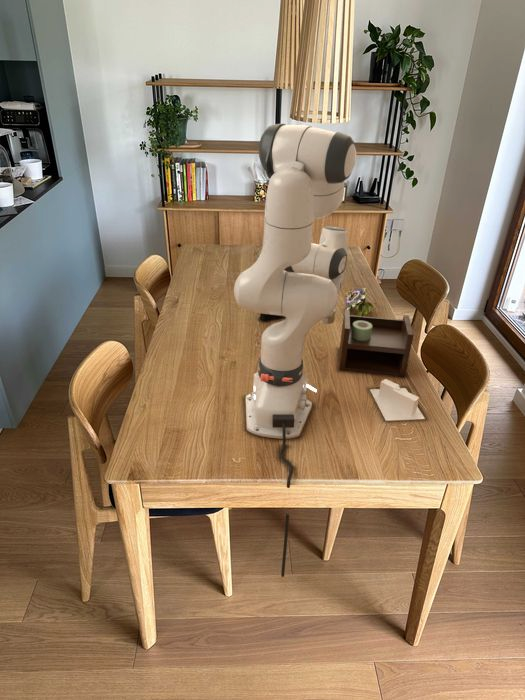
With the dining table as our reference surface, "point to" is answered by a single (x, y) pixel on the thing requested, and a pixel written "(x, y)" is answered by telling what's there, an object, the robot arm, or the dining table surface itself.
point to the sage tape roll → (361, 330)
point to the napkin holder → (396, 402)
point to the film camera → (269, 317)
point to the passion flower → (358, 301)
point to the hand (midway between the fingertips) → (325, 316)
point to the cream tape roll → (331, 319)
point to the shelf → (376, 346)
